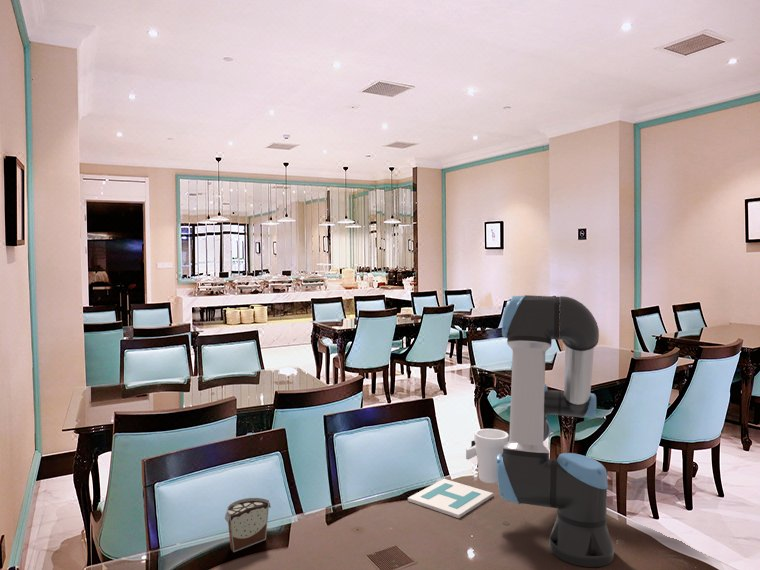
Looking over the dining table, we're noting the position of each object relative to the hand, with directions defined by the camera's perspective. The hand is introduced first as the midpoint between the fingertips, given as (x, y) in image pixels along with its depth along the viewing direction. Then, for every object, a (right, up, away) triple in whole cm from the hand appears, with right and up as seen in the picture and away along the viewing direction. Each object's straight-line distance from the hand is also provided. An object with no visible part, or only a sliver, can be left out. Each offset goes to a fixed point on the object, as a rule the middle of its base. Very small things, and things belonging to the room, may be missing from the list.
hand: (483, 458), depth 154 cm
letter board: (-7, -17, +17) cm, 25 cm away
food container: (-64, -18, -11) cm, 67 cm away
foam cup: (+3, -7, +4) cm, 8 cm away
